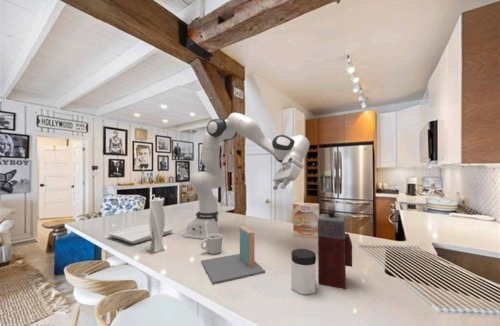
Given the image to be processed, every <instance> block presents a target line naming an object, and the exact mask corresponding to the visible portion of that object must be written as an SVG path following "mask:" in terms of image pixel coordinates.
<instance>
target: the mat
mask: <svg viewBox="0 0 500 326" xmlns="http://www.w3.org/2000/svg"><path fill="white" fill-rule="evenodd" d="M200 261H201V262H200V263H201V265H202V266H203V268H204V270H205V273H206V274H207V277H208V278H209V279H210V282H211V283H212V285H216V284H221V283H226V282H230V281H235V280H239V279H244V278H247V277H252V276H257V275H262V274H266V270H265V269H264V268H263V267H262V266H260V264H258V263H257V262H256V261H255V267H250V268H249V267H248V266H247V265H246V264H245V263H244V262H243V261H242V260H241V259H240V253H236V254H230V255H225V256H219V257H214V258H213V257H212V258H209V259H203V260H200Z"/></svg>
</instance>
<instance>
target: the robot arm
mask: <svg viewBox="0 0 500 326" xmlns="http://www.w3.org/2000/svg"><path fill="white" fill-rule="evenodd" d="M206 131H207V132H206V133H205V134H204V135H203V139H202V144H201V145H202V146H201V152H200V153H201V155H200V157H201V158H200V162H201V163H202V165H203V166H204V167H205V171H199V172H195V173H193V174H192V175H191V177H190V179H189V180H190V186H191V188H192V189H194V190H195V192H196V193H197V197H198V202H199V211H197V212H196V213H195V216H196V218H194V219H193V220H192V221H190V223H188V225H187V228H186V230H185V231H184V232H183V233H182V237H184V238H189V239H190V238H192V239H199V240H204V239H206V236H207V235H209V234H221V232H220V228H219V211H218V198H217V196H215V195H214V192H213V189H218V188H220V187H223V186H224V185H225V182H226V177H225V175H224V173H222V169H221V166H220V152H221V151H220V150H221V143H222V141H224V142H227V141H231V140H233V139H235V138H236V137H237V136H238V135H240V136H242V137H244V138H245V139H247V140H250V142H252V143H254V144H256V145H257V146H258V147H261V148H262V149H263V150H265V151H266V152H268V153H269V154H271V155H272V156H273V157H274V158H275V160H276V161H277V163H281V166H282V167H281V168H279V169H277V171H276V173H275V174H274V176H273V178H272V181H273V182H274V184H273V187H272V190H273V191H277V190H278V188H279V185H280V184H281V186H280V189H282V190H285V189H286V187H287V186H288V185H289V184H290V182H294V181H296V180H297V178H298V177H299V175H300V173H301V171H302V169H304V167H305V164H304V163H303V161H304V159H305V157H306V156H307V154H308V152H309V149H310V145H311V143H310V141H309V138H307V137H306V136H304V135H302V134H297V135H293V136H290V135H285V134H278V135H276V136H275V137H274V138H273V139H269V138H268V137H267V136H266V135H265V133H264V132H263V130H262V128H261V127H260V124H259V123H258V122H257V121H256V120H255V119H254V118H252V117H249V116H247V115H245V114H244V113H239V112H232V113H230V114H229V116H228V117H227V118H226V119H225V118H223V117H221V118H214V119H211V120H210V121H208V123H207V125H206Z"/></svg>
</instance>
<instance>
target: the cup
mask: <svg viewBox="0 0 500 326" xmlns="http://www.w3.org/2000/svg"><path fill="white" fill-rule="evenodd" d="M223 237H224V236H223V234H221V233H220V234H209V235H207V236H206V239H201V242H200V248H201V249H202V250H205V251H207V253H209V254H211V255H216V254H220V253H221V251H222V246H223ZM204 243H205V244H206V245H205V247H204V246H203V245H204Z"/></svg>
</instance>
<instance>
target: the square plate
mask: <svg viewBox="0 0 500 326" xmlns="http://www.w3.org/2000/svg"><path fill="white" fill-rule="evenodd" d="M174 229H175V228H172V227H167V226H164V232H163V236H164V235H168V234H170V233H172V232H173V231H174ZM106 234H107V235H108V236H109V237H111V238H113V239H114V238H115V239H117V240H120V241H124V242H127V243H129V244H139V242H140V243H144V242H146V240H147V241H149V239H150V240H151V236H150V225H149V223H146V224H141V225H136V226H130V227H126V228H122V229H118V230H114V231H111V232H107V233H106Z"/></svg>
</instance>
